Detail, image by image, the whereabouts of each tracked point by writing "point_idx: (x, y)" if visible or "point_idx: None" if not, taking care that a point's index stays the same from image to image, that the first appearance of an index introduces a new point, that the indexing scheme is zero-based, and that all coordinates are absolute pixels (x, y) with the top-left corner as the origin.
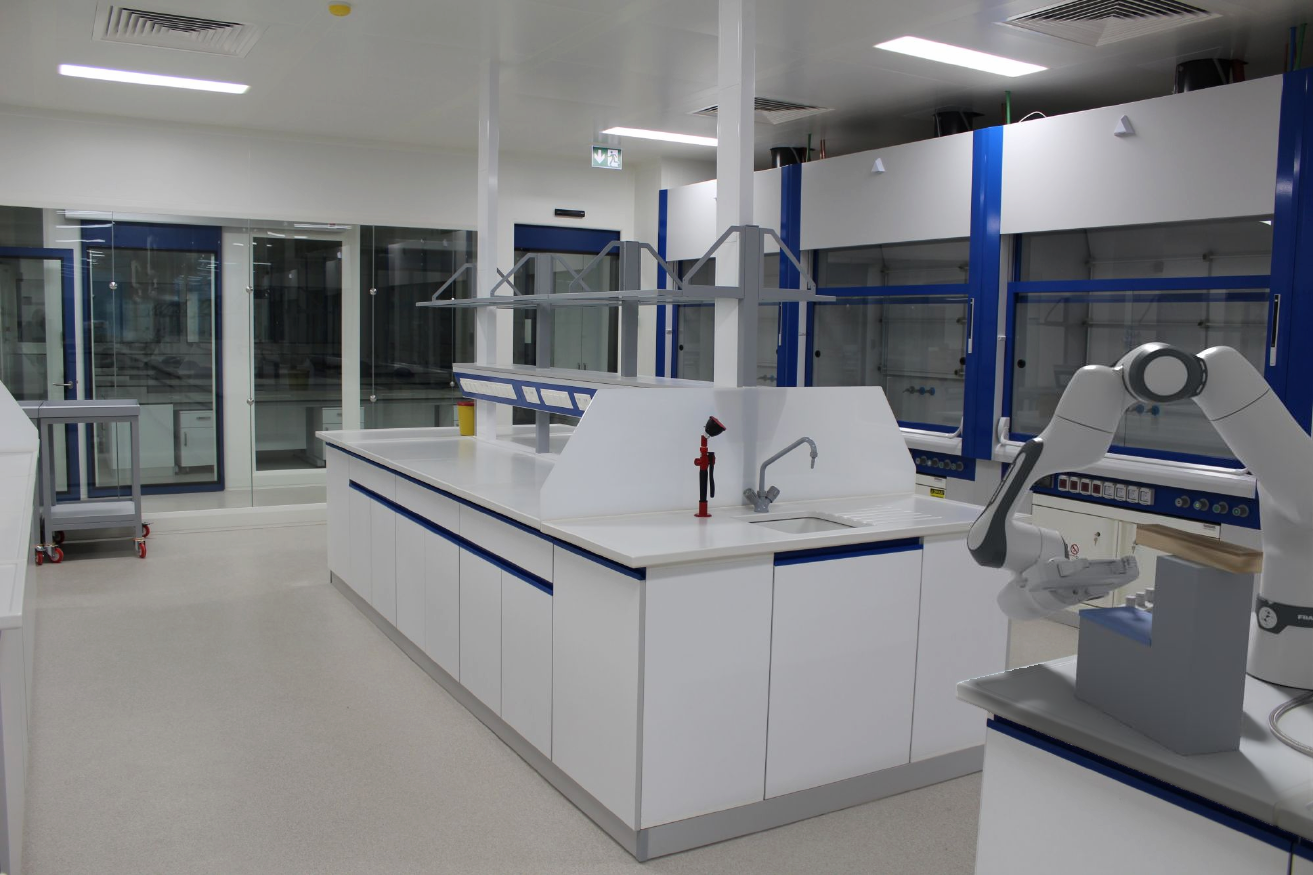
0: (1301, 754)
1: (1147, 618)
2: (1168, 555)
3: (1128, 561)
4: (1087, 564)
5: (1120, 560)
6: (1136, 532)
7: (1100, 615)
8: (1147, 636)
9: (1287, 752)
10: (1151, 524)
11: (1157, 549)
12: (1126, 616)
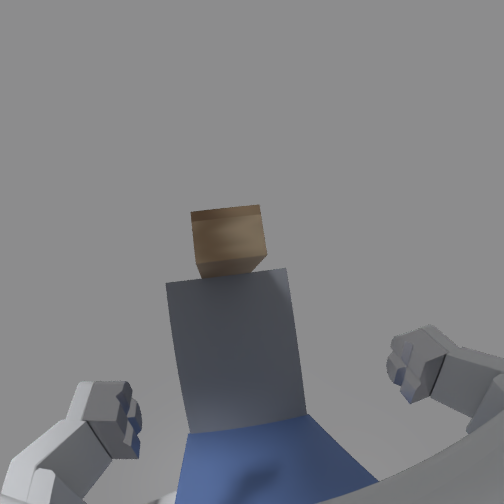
0: (162, 497)
1: (223, 486)
2: (264, 271)
3: (133, 406)
4: (394, 358)
5: (54, 473)
6: (262, 225)
7: (355, 487)
8: (304, 420)
9: (172, 501)
10: (215, 210)
11: (255, 266)
12: (274, 495)
